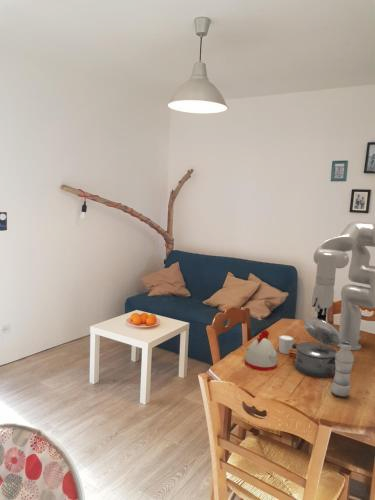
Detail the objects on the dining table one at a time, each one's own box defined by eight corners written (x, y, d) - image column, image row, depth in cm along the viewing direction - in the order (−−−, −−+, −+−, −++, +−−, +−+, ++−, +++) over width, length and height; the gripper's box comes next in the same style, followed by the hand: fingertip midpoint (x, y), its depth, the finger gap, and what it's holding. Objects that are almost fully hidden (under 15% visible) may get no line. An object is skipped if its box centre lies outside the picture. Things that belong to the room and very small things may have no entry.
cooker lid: (309, 338, 175) (312, 333, 176) (343, 350, 163) (347, 344, 164) (299, 314, 167) (303, 309, 168) (335, 325, 154) (338, 319, 156)
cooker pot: (302, 356, 178) (304, 337, 177) (356, 376, 159) (358, 356, 158) (281, 364, 167) (283, 345, 166) (336, 388, 149) (338, 366, 147)
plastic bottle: (327, 390, 146) (332, 340, 144) (344, 390, 147) (350, 340, 144) (335, 399, 140) (341, 346, 137) (353, 399, 141) (359, 347, 138)
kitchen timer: (282, 364, 168) (285, 331, 166) (266, 374, 158) (269, 339, 156) (255, 354, 177) (258, 323, 175) (238, 363, 167) (240, 330, 165)
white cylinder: (292, 355, 179) (294, 341, 178) (277, 353, 180) (279, 339, 179) (292, 349, 186) (293, 336, 185) (277, 348, 187) (278, 334, 186)
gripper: (326, 277, 169) (322, 317, 171) (307, 281, 159) (303, 323, 161) (342, 280, 163) (338, 322, 166) (324, 285, 153) (319, 329, 156)
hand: (321, 322), depth 164 cm, fingers closed
